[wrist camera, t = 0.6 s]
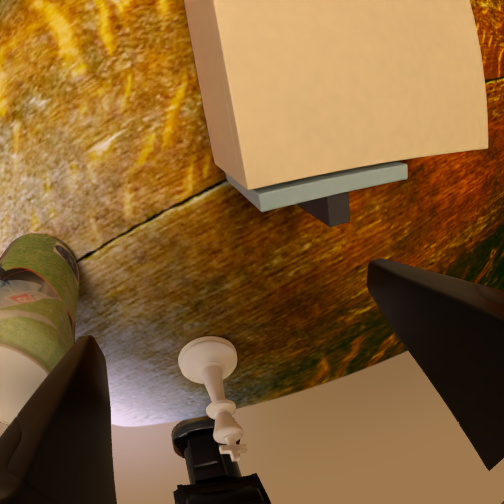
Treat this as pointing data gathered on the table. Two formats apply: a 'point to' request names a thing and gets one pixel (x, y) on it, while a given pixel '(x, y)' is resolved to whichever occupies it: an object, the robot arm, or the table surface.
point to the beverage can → (34, 316)
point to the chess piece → (215, 386)
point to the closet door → (323, 190)
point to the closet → (335, 83)
